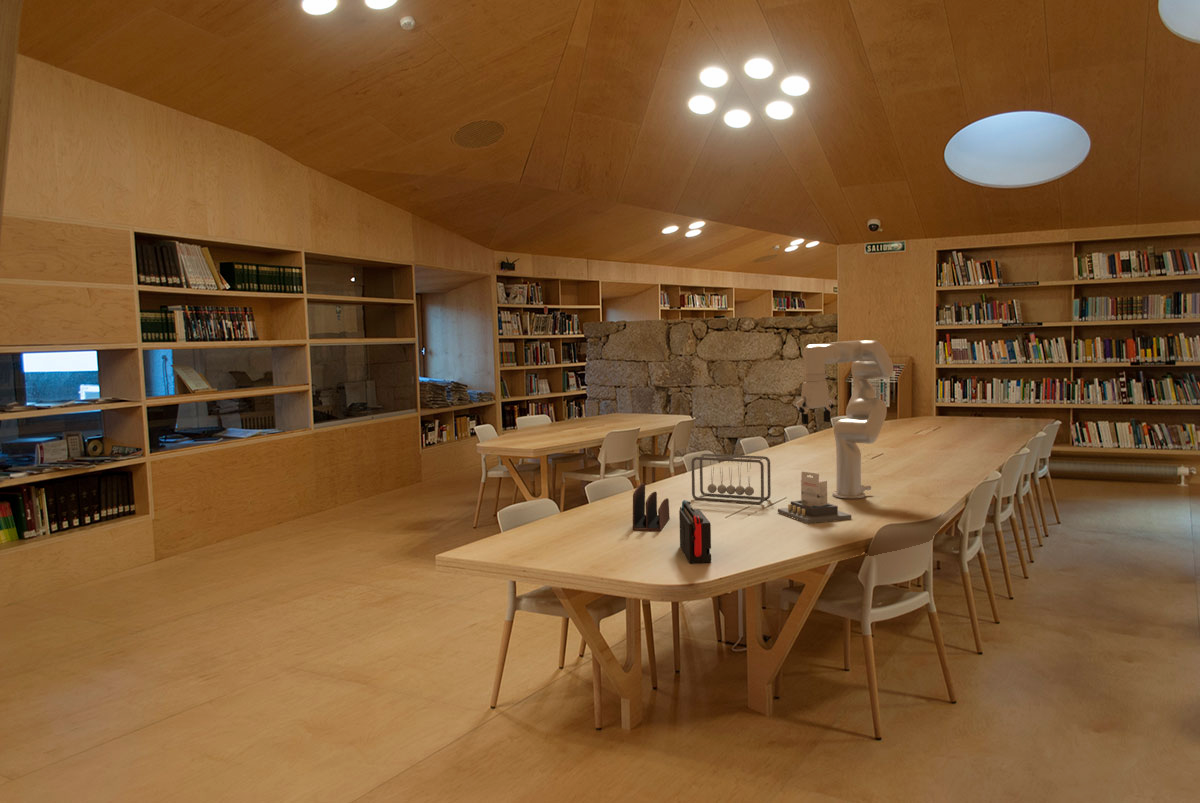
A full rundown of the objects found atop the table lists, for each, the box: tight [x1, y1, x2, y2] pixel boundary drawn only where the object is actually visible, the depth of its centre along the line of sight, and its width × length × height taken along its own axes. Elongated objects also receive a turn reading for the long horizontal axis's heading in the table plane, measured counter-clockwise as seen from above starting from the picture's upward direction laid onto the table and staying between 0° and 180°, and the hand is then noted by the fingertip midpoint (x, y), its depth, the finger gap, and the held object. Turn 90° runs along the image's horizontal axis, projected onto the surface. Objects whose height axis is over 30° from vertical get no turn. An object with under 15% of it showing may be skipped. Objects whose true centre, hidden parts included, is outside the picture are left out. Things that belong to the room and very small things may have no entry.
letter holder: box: [632, 483, 670, 532], centre depth 289 cm, size 10×20×14 cm, turn 166°
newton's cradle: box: [691, 453, 772, 505], centre depth 329 cm, size 30×10×18 cm, turn 62°
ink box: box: [800, 470, 828, 508], centre depth 296 cm, size 8×5×15 cm, turn 36°
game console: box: [678, 499, 712, 565], centre depth 248 cm, size 28×6×15 cm, turn 2°
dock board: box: [777, 499, 852, 524], centre depth 296 cm, size 18×20×4 cm
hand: (816, 422), depth 310 cm, fingers open, 9 cm apart
